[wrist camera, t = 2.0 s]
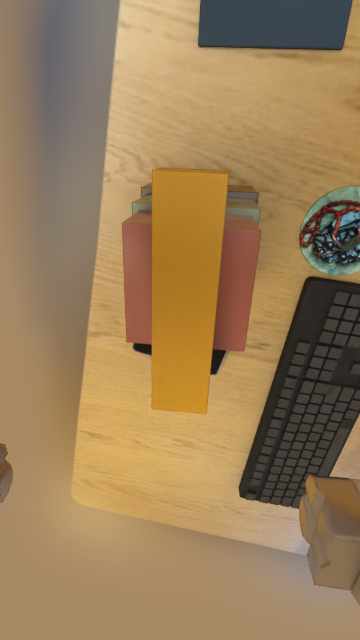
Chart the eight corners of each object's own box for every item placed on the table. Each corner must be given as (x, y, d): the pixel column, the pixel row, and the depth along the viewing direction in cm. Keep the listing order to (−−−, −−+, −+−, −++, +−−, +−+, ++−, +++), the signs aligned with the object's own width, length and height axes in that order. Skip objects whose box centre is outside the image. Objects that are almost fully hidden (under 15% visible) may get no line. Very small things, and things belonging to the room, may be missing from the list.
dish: (327, 296, 35) (358, 247, 29) (284, 251, 39) (303, 197, 32) (384, 265, 37) (425, 212, 31) (338, 224, 40) (367, 168, 34)
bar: (158, 381, 24) (151, 409, 22) (161, 167, 18) (151, 169, 16) (207, 385, 24) (206, 414, 21) (226, 170, 18) (228, 173, 15)
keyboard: (306, 275, 37) (311, 281, 35) (410, 292, 37) (419, 299, 35) (238, 489, 53) (238, 501, 51) (310, 502, 53) (313, 514, 51)
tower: (152, 275, 39) (112, 353, 24) (152, 181, 34) (103, 203, 19) (240, 281, 38) (257, 365, 23) (251, 186, 34) (282, 213, 19)
